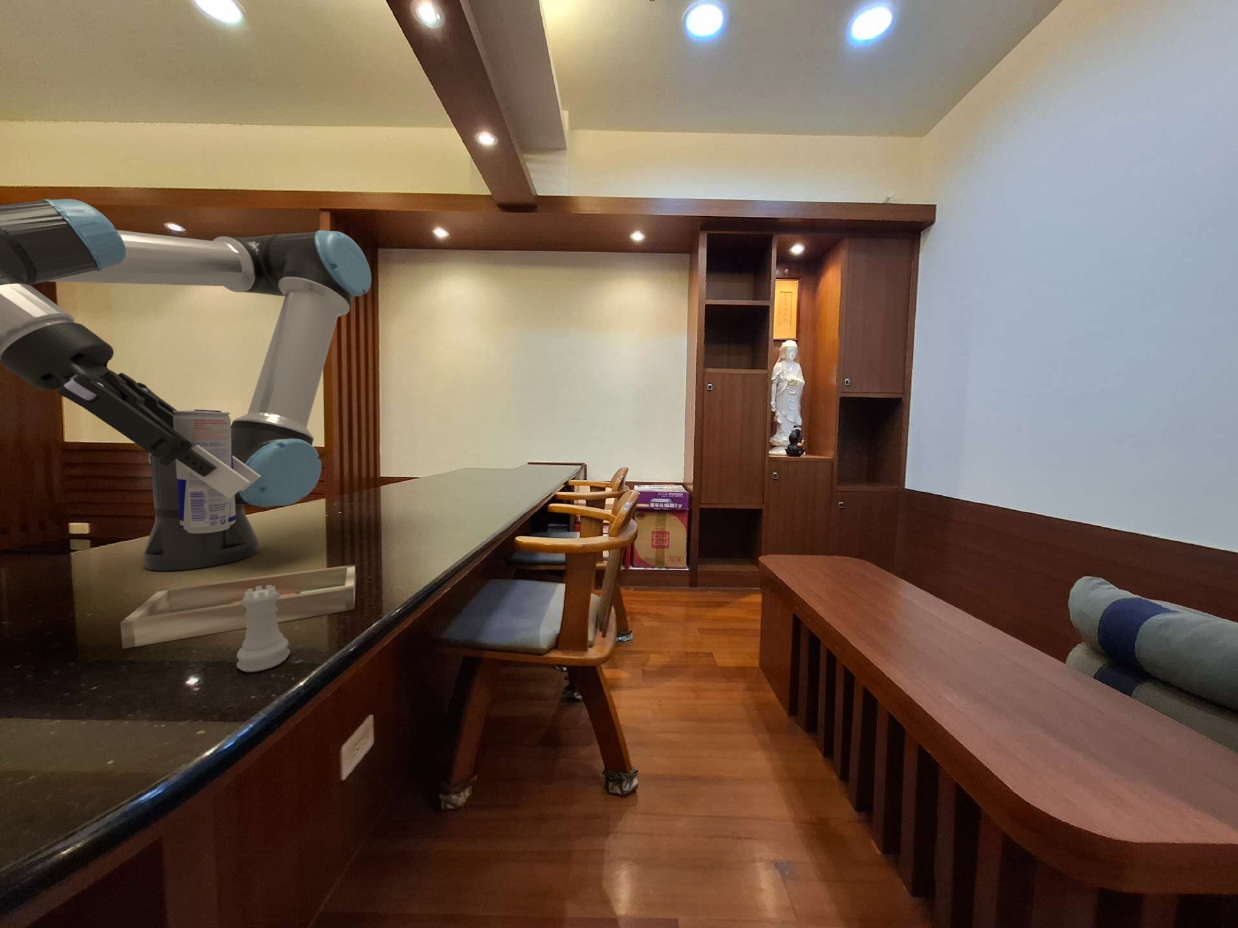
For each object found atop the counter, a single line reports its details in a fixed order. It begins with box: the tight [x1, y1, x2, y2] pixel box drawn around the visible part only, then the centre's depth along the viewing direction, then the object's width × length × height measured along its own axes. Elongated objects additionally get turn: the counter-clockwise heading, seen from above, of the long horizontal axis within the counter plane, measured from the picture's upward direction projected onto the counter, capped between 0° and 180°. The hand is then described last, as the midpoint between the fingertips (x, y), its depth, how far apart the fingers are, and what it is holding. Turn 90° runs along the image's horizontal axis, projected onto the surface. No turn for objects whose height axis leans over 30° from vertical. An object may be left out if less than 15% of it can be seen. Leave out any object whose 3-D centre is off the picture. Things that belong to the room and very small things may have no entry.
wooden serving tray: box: [120, 564, 357, 650], centre depth 58 cm, size 11×22×3 cm, turn 120°
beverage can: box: [173, 409, 236, 533], centre depth 54 cm, size 5×5×15 cm
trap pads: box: [231, 593, 296, 604], centre depth 58 cm, size 8×7×1 cm
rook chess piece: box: [236, 585, 291, 673], centre depth 46 cm, size 4×4×8 cm
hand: (245, 486), depth 56 cm, fingers closed on beverage can, 5 cm apart
